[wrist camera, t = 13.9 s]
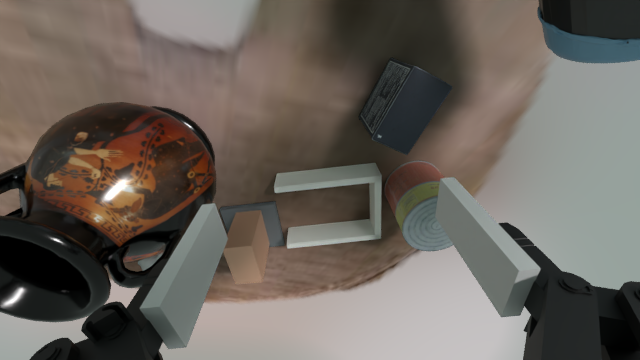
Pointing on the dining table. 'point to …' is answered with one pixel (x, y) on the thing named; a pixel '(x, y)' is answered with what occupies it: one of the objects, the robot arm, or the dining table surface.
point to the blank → (247, 247)
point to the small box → (402, 105)
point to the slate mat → (269, 219)
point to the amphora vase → (99, 206)
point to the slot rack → (334, 178)
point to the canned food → (417, 204)
